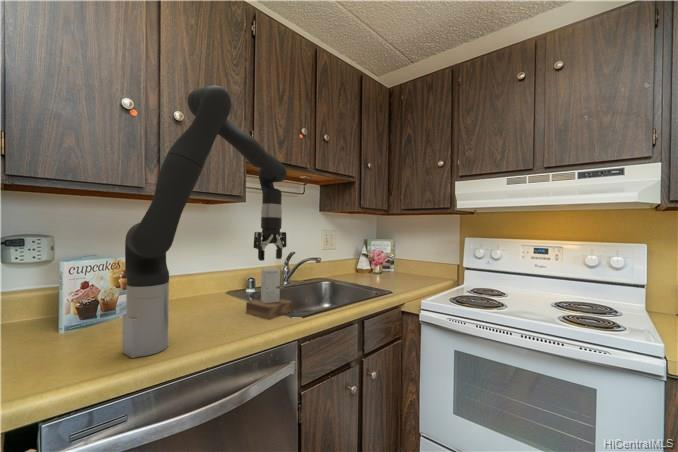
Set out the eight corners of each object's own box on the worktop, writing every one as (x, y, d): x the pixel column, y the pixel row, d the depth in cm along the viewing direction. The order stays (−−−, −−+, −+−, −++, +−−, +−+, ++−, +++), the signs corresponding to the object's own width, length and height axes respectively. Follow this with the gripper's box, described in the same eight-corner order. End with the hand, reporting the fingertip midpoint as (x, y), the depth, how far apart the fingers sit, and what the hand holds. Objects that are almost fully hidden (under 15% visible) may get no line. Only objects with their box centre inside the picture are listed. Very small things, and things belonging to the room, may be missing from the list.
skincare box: (264, 304, 105) (265, 270, 105) (260, 301, 109) (260, 269, 109) (280, 301, 109) (280, 269, 109) (275, 299, 112) (276, 268, 112)
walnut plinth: (268, 319, 100) (268, 308, 100) (246, 313, 107) (246, 302, 107) (292, 311, 110) (292, 301, 110) (270, 306, 117) (270, 296, 117)
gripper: (263, 215, 101) (262, 262, 101) (292, 217, 113) (290, 259, 112) (249, 215, 105) (248, 260, 105) (278, 217, 117) (277, 257, 117)
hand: (270, 259), depth 109 cm, fingers open, 8 cm apart
